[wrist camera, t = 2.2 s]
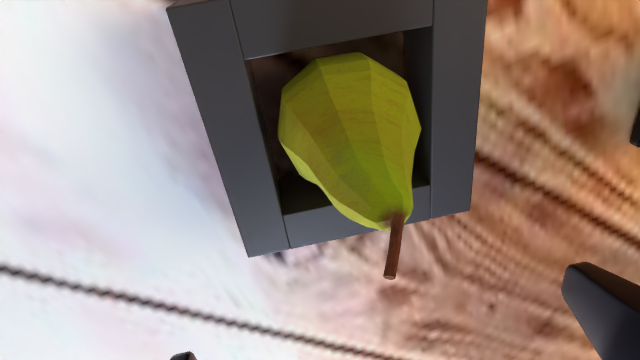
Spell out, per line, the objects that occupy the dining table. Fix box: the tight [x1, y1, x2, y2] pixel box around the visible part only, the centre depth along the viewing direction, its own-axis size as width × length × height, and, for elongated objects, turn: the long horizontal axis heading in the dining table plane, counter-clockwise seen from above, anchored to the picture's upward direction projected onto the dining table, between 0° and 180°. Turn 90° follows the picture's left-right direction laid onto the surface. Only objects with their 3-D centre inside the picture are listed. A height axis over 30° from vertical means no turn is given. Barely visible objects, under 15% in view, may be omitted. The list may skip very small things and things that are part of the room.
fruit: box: [277, 52, 421, 280], centre depth 14 cm, size 6×6×12 cm
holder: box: [166, 0, 487, 258], centre depth 18 cm, size 12×12×4 cm
